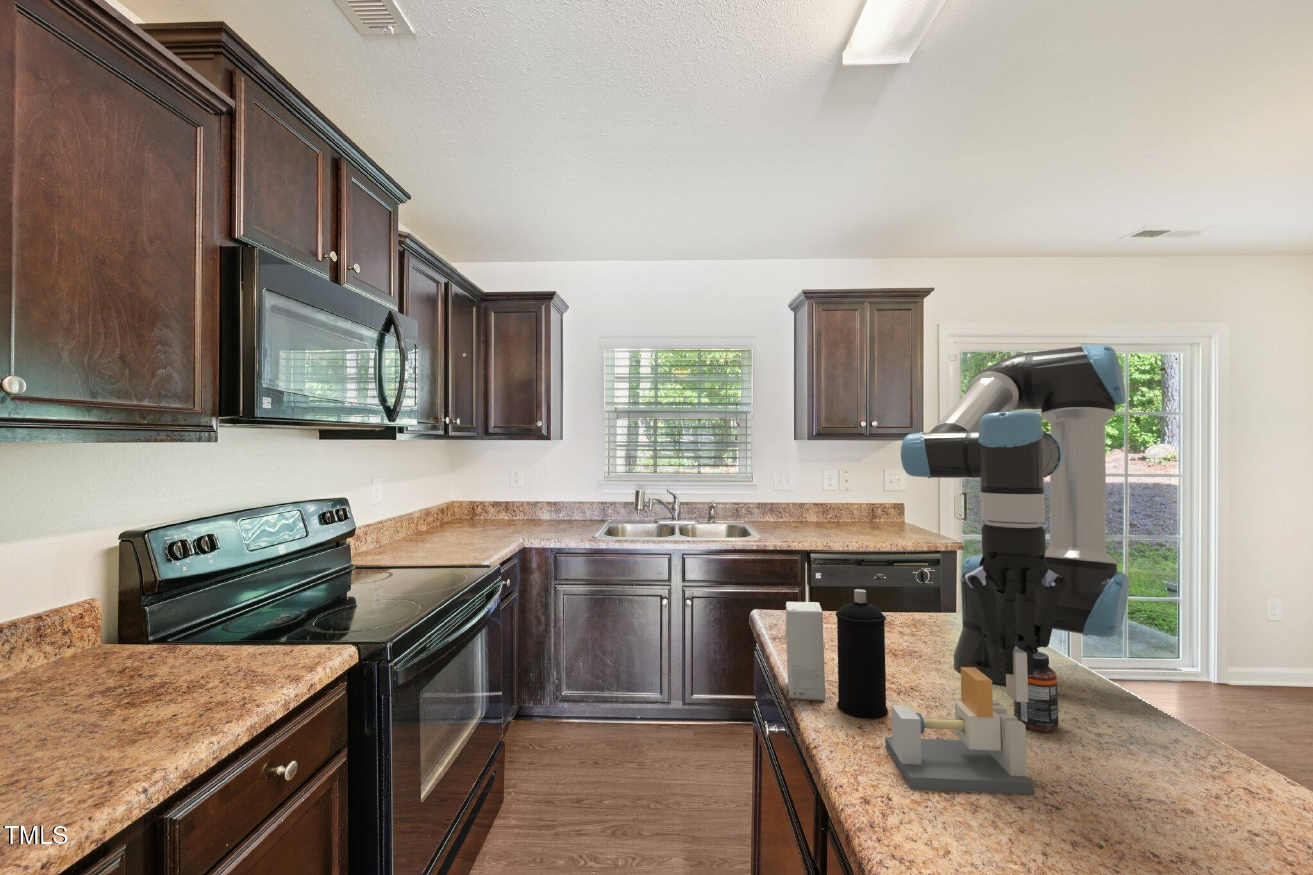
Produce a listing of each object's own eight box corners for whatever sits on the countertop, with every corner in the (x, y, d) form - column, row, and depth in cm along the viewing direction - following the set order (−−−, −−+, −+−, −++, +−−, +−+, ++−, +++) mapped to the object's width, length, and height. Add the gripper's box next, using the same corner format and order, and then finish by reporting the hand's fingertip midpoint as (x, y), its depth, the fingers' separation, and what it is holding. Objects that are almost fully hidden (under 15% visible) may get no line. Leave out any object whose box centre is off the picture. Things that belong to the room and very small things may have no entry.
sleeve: (984, 733, 82) (982, 667, 82) (1002, 751, 77) (1000, 680, 77) (954, 732, 82) (953, 666, 83) (970, 750, 78) (968, 679, 78)
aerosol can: (863, 723, 94) (861, 597, 95) (826, 704, 101) (824, 588, 102) (898, 713, 98) (896, 592, 99) (861, 695, 105) (859, 583, 106)
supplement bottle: (1016, 714, 97) (1014, 645, 98) (1059, 723, 94) (1057, 652, 94) (1011, 726, 93) (1010, 654, 93) (1057, 737, 89) (1055, 662, 89)
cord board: (992, 751, 85) (990, 695, 85) (1033, 794, 74) (1031, 730, 74) (885, 747, 86) (884, 692, 86) (910, 788, 75) (909, 725, 76)
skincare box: (825, 702, 102) (824, 612, 103) (787, 699, 104) (786, 610, 104) (821, 684, 111) (820, 601, 111) (786, 681, 112) (785, 599, 112)
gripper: (1046, 521, 84) (1051, 688, 83) (951, 520, 85) (955, 685, 84) (1079, 527, 76) (1085, 711, 75) (975, 526, 77) (979, 707, 76)
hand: (1017, 697), depth 80 cm, fingers closed
